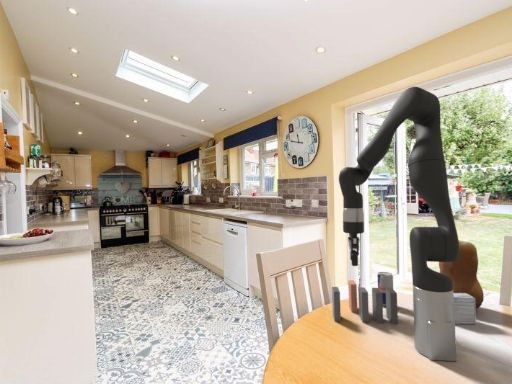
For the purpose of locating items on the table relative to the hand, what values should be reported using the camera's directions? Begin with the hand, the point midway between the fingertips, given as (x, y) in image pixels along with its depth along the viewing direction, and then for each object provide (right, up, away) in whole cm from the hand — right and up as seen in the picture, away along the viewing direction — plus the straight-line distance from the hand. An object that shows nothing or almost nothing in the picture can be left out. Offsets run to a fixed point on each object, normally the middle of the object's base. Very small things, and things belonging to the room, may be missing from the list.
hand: (354, 262), depth 105 cm
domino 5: (+9, -16, -12) cm, 22 cm away
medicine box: (+29, -16, -14) cm, 36 cm away
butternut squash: (+37, -16, -4) cm, 40 cm away
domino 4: (+4, -16, -11) cm, 20 cm away
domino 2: (-1, -17, -2) cm, 17 cm away
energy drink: (+12, -17, +1) cm, 21 cm away
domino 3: (0, -17, -11) cm, 20 cm away
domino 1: (-9, -17, -9) cm, 21 cm away
